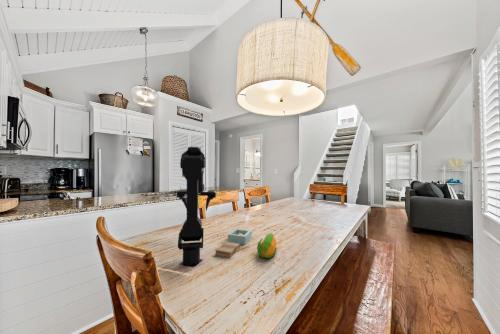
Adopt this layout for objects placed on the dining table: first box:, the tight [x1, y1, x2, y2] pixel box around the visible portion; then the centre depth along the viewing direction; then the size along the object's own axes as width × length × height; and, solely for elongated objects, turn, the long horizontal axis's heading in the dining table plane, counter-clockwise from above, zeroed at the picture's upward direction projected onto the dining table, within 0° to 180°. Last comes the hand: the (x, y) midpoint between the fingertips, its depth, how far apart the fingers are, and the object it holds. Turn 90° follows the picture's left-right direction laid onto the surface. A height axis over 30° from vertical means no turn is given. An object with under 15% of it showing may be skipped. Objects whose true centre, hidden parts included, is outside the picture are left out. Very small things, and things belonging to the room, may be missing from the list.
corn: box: [256, 232, 277, 259], centre depth 87 cm, size 7×8×20 cm
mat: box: [213, 255, 231, 260], centre depth 85 cm, size 12×9×1 cm
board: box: [215, 241, 241, 258], centre depth 85 cm, size 10×6×2 cm, turn 162°
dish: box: [227, 228, 253, 246], centre depth 99 cm, size 10×9×4 cm
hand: (197, 210), depth 103 cm, fingers open, 9 cm apart
